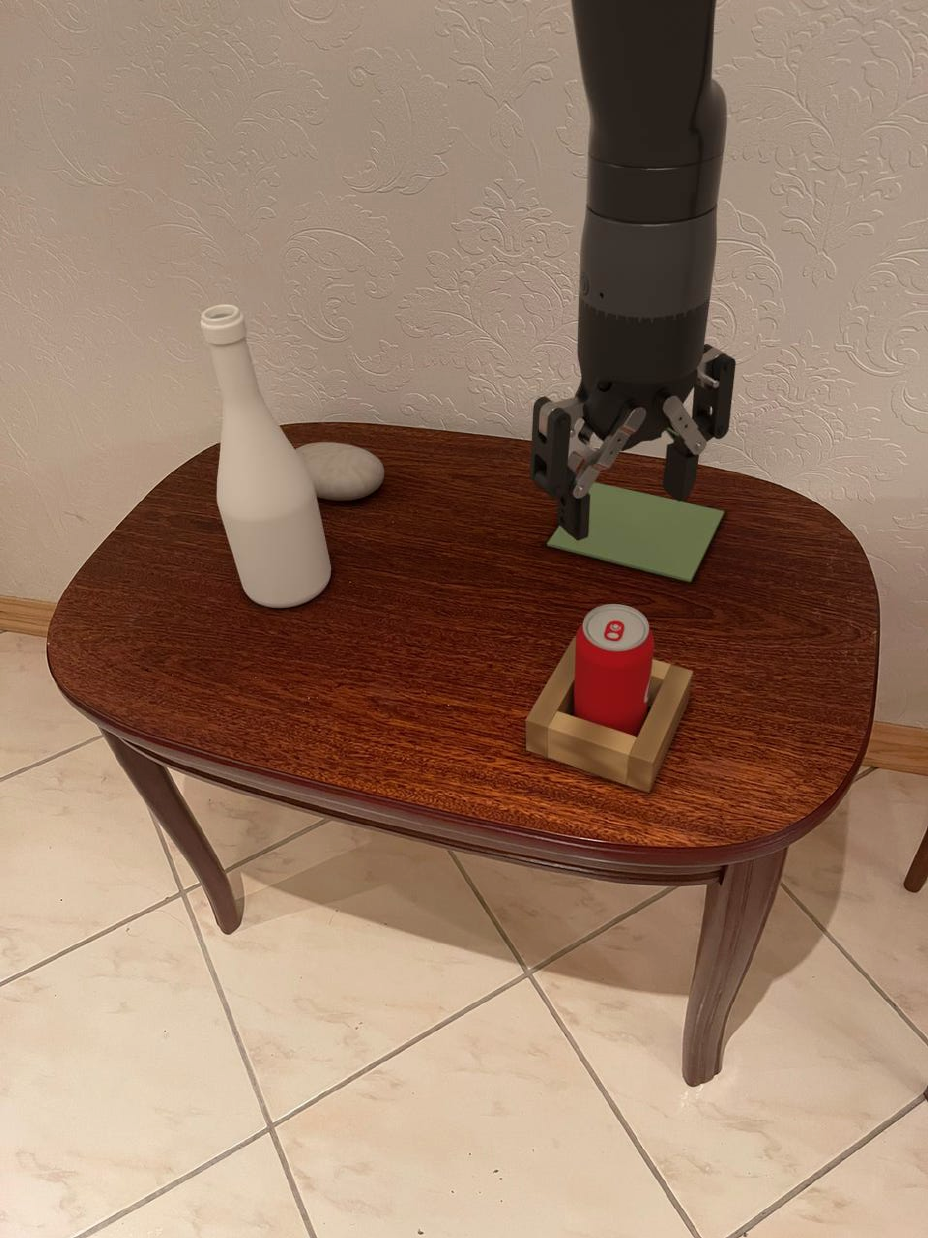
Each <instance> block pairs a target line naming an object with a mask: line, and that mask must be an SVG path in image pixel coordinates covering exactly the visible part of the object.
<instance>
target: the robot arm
mask: <svg viewBox="0 0 928 1238" xmlns="http://www.w3.org/2000/svg"><path fill="white" fill-rule="evenodd" d="M570 4H571V13H572V19H573V26H574V33H575V34H574V35H575V40H576V47H577V53H578V54H577V55H578V60H579V68H580V75H581V81H582V85H583V90H584V94H585V98H586V103H587V108H588V113H589V114H588V115H589V130H588V141H587V160H586V161H587V162H586V163H587V164H586V166H587V167H586V194H585V195H586V196H585V198H586V199H585V202H586V204H585V213H584V220H583V227H582V232H581V238H580V251H579V279H578V282H579V285H578V312H577V313H578V314H577V315H578V316H577V351H576V354H577V361H578V365H579V370H580V382H579V386H578V388H577V390H576V392H575V394H574V397H570V398H567V399H566V398H565V399H562V400H558V401H555V402H554V401H553V400H552V399H550V398H549V397H547V396H541V397H539V398H537V399H536V400H535V402H534V403H533V405H532V406H533V407H532V424H531V425H532V426H531V443H530V444H531V445H530V463H529V464H530V465H529V478H530V480H531V481H532V482H533V483H534V484H536V485H537V486H538V487H539V488H540V489H541V490H542V491H543V492H544V493H545V494H546V495H548V496H549V497H550V498H551V499H553V500H556V508H557V509H556V521H557V523H558V526H559V525H560V526H561V527H562V528H563V529H564V530H565V531H566V532H567V533H568V534H569V535H570V536H572V537H574V538H575V539H576V540H577V541H579V540H582V539H584V538H587V537H588V535H589V513H590V494H589V493H588V491H589V489H590V488H591V486H592V485H593V483H594V482H596V481H597V479H598V477H599V475H600V474H601V472H602V471H603V472H604V471H608V470H609V469H610V468H611V467H612V465H613V464H614V462H615V461H616V459H617V457H618V456H619V455H620V453H621V452H625V451H627V450H630V449H632V448H634V447H636V446H637V445H639V444H640V443H642V442H652V441H655V440H659V439H660V438H662V435H663V433H664V432H665V433H666V434H667V435H668V436H669V438H670V439H671V440H673V442H671V443H668V444H666V451H665V452H666V453H665V460H664V470H663V471H664V472H663V477H662V478H663V479H662V489H663V490H664V492H665V493H666V494H667V495H669V496H670V497H672V498H673V500H677V501H679V502H680V501H681V502H684V501H685V500H688V499H689V498H690V497H691V492H692V490H693V489H694V487H695V484H696V482H697V481H696V480H697V475H698V474H697V473H698V467H699V461H700V460H699V459H700V454H702V453H703V452H704V450H705V449H706V448H707V443H708V442H709V441H711V440H712V439H713V438H715V439H716V440H721V439H723V438H724V437H725V436H726V435H727V433H728V432H729V428H730V420H731V412H732V402H733V394H734V393H733V392H734V384H735V383H734V382H735V374H736V365H737V362H736V359H735V358H733V357H732V356H730V355H728V353H725V352H724V351H722V350H720V349H719V348H716V347H714V346H712V345H711V344H709V343H705V341H706V333H707V325H708V317H709V309H710V302H711V294H712V288H713V280H714V273H715V263H716V258H717V257H716V256H717V245H718V202H719V197H720V196H719V195H720V187H721V180H722V171H723V164H724V157H725V156H724V155H725V147H726V138H727V129H728V128H727V127H728V102H727V98H726V94H725V91H724V89H723V87H722V85H721V84H720V83H719V82H718V81H717V80H715V78H713V61H714V60H713V59H714V39H715V38H714V37H715V20H716V18H715V17H716V6H717V0H570ZM692 391H693V396H692V410H691V411H692V412H691V414H690V413H689V412H688V411H687V410H686V408H685V405H684V404H685V402H686V400H687V399H688V398H689V396H690V394H691V392H692ZM593 434H594V435H595V436H596V437H597V438H598V439H599V440H600V441H601V442H603V443H602V444H601V445H600V447H599V448H598V449H597V448H595V447H594V446H593V445H592V444H591V438H592V435H593ZM583 460H584V463H583V465H582V466H581V468H580V470H579V471H578V472H576V471H577V470H578V468H579V466H580V465H581V463H582V461H583Z"/></svg>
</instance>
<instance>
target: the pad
mask: <svg viewBox="0 0 928 1238" xmlns="http://www.w3.org/2000/svg"><path fill="white" fill-rule="evenodd" d="M588 493H589V494H590V513H589V535H588V537H587V538H584V539H582V540H579V541H577V540H576V539H575V538H574V537H572V536H570V535H569V534H568V533H567V532H566V531H565V530H564V529H563V528H562V527H561V526H560V525H559V524H558V527H557V528H556V530H555V531H554V533H553V534H552V536H551V537H550V539H549V540H548V541H547V543H546V546H547V547H549V548H550V547H551V548H553V549H558V550H562V551H565V552H569V553H572V554H573V553H574V554H577V555H582V556H585V557H590V558H593V559H597V560H600V561H605V562H608V563H612V564H617V565H620V566H623V567H628V568H632V569H636V570H640V571H644V572H647V573H652V574H655V575H659V576H662V577H663V576H664V577H667V578H672V579H675V580H679V581H683V582H686V583H687V582H688V583H691V582H692V581H693V579H694V576H695V575H696V572H697V571H698V569H699V567H700V565H701V562H702V560H703V558H704V557H705V555H706V552H707V550H708V549H709V546H710V544H711V542H712V540H713V538H714V535H715V534H716V532H717V529H718V528H719V526H720V523H721V521H722V519H723V517H724V515H725V510H722V509H717V508H712V507H709V506H704V505H699V504H694V503H690V502H685V501H680V502H679V501H677V500H676V499H672V498H668V497H663V496H659V495H655V494H650V493H645V492H641V491H636V490H633V489H632V490H631V489H627V488H622V487H618V486H614V485H609V484H604V483H600V482H596V481H594V483H593V485H592V486H591V488H590V489H589V491H588Z"/></svg>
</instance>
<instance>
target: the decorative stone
mask: <svg viewBox="0 0 928 1238" xmlns="http://www.w3.org/2000/svg"><path fill="white" fill-rule="evenodd" d="M294 449H295V451H296V452H297V454H298V455H299V457H300V458H301V460H302V461H303V463H304V465H305V467H306V468H307V470H308V472H309V474H310V476H311V478H312V480H313V483H314V487H315V492H316V497H317V499H322V500H327V501H337V502H339V501H340V502H348V501H355V500H358V499H363V498H365V497H367V496H370V495H371V494H373V493H375V492H376V491H377V490H378V489H379V487H381V485H382V483H383V482H384V478H385V468H384V464H383V463H382V461H381V460H380V458H378V456H377V455H375V454H373V453H372V452H370V451H369V450H366V449H364V448H362V447H359V446H356V445H352V444H348V443H341V442H333V441H332V442H331V441H329V442H328V441H321V442H312V443H311V442H310V443H307V444H304V445H301V446H299V447H296V448H294Z"/></svg>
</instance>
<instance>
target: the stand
mask: <svg viewBox="0 0 928 1238" xmlns="http://www.w3.org/2000/svg"><path fill="white" fill-rule="evenodd" d="M575 648H576V635H575V636H574V637H573V638H572V639H571V641H570V643H569V644H568V647H567V648H566V650H565V652H564V653H563V655H562V657H561V659H560V660H559V662H558V664H557V666H556V667H555V669H554V670H553V672H552V674H551V676H550V677H549V679H548V681H547V682H546V684H545V686H544V688H543V689H542V690H541V692H540V694H539V695H538V698H537V699H536V701H535V703H534V704H533V707H532V708H531V709H530V712H529V713H528V715H527V716H526V718H525V750H526V751H528V752H530V753H534V754H537V755H539V756H541V757H545V758H547V759H550V760H554V761H557V762H559V763H561V764H565V765H568V766H570V767H573V768H576V769H580V770H582V771H585V772H587V773H591V774H594V775H595V776H599V777H602V778H605V779H608V780H610V781H613V782H616V783H619V784H622V785H623V786H624V785H625V786H628V787H631V788H633V789H637V790H639V791H642V792H645V793H647V794H649V793H650V792H651V790H652V787H653V785H654V784H655V781H656V779H657V776H658V774H659V771H660V769H661V767H662V765H663V762H664V759H665V758H666V755H667V754H668V751H669V748H670V745H671V743H672V741H673V739H674V737H675V734H676V731H677V729H678V727H679V725H680V722H681V720H682V717H683V715H684V713H685V711H686V709H687V706H688V704H689V699H690V695H691V694H690V693H691V687H692V682H693V676H694V671H693V670H691V669H688V668H684V667H681V666H679V665H678V666H677V665H674V664H671V663H667V662H665V661H660V660H658V659H654V658H653V661H652V670H651V679H650V688H649V697H648V706H647V707H649V708H650V709H649V712H647V715H646V720H645V722H644V724H643V726H642V728H641V730H640V733H639V735H638V737H635V736H632V735H629V734H626V733H623V732H620V731H617V730H614V729H611V728H607V727H604V726H601V725H598V724H595V723H592V722H589V721H586V720H583V719H580V718H577V717H574V715H572V713H573V712H574V686H575Z"/></svg>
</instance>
